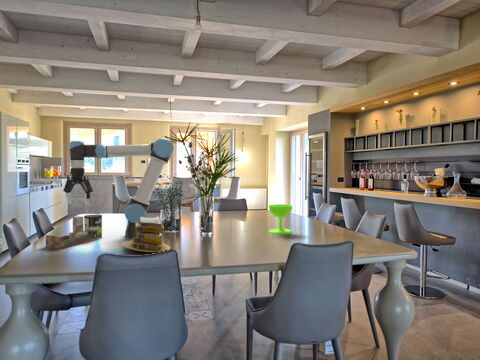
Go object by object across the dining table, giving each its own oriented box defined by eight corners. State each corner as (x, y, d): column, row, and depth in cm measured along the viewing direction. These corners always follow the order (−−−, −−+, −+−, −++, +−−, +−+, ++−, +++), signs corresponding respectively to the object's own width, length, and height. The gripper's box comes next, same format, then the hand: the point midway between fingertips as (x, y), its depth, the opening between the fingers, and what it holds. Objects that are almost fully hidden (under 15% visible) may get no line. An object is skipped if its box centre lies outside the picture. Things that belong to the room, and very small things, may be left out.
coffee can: (105, 236, 215) (105, 214, 215) (95, 240, 205) (95, 216, 204) (91, 236, 217) (90, 214, 217) (80, 239, 207) (80, 216, 206)
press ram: (88, 238, 202) (88, 216, 202) (79, 240, 196) (79, 217, 196) (78, 237, 205) (78, 215, 205) (68, 239, 199) (68, 217, 198)
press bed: (92, 241, 202) (92, 230, 202) (61, 248, 183) (61, 236, 183) (76, 239, 207) (76, 228, 206) (45, 247, 187) (45, 235, 187)
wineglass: (294, 234, 224) (294, 207, 223) (269, 234, 224) (269, 206, 224) (290, 230, 240) (290, 204, 239) (267, 229, 240) (267, 204, 240)
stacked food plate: (173, 243, 196) (173, 214, 195) (166, 254, 171) (165, 221, 170) (129, 244, 195) (129, 215, 194) (116, 255, 170) (115, 221, 169)
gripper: (56, 167, 200) (57, 204, 201) (88, 167, 191) (89, 205, 192) (66, 167, 207) (67, 202, 208) (98, 167, 198) (99, 204, 199)
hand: (78, 204), depth 200 cm, fingers open, 13 cm apart
